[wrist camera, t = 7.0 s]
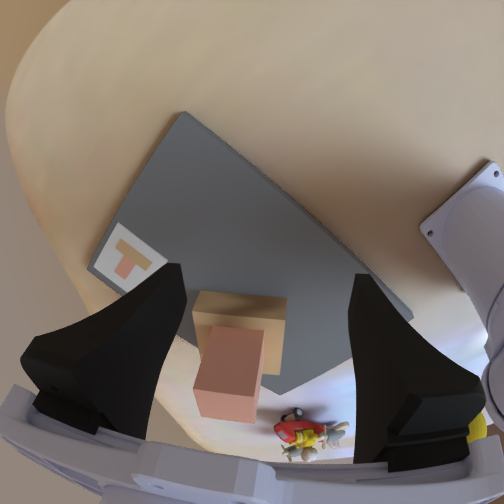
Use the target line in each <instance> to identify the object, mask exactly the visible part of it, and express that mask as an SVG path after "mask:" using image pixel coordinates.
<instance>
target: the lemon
mask: <svg viewBox="0 0 504 504" xmlns="http://www.w3.org/2000/svg"><path fill="white" fill-rule="evenodd" d="M468 426H469V430H470V434H469V435H468V436H466V437H467V442H468V443H470V442H472V441H474V440H477V439H481V438H485V437H486V434H487V426H486V421H485V418H484V416H483V414H482V413H481V412H480V413H479V414H478V415H477V416H476V418H475V419H474V420H473V421H472V422H471V423H470V424H469V425H468Z"/></svg>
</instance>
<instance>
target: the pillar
mask: <svg viewBox="0 0 504 504" xmlns="http://www.w3.org/2000/svg"><path fill="white" fill-rule="evenodd" d="M263 364H264V330H255V329H243V328H233V327H223V326H214V325H213V326H212V329H211V332H210V335H209V338H208V341H207V345H206V348H205V351H204V354H203V357H202V361H201V364H200V367H199V370H198V373H197V377H196V380H195V383H194V386H193V391H194V395H195V398H196V401H197V405H198V408H199V411H200V414H201V416H202V417H208V418H214V419H221V420H228V421H236V422H244V423H253V424H254V423H255V417H256V411H257V404H258V398H259V391H260V384H261V377H262V371H263Z"/></svg>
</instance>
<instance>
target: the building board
mask: <svg viewBox="0 0 504 504" xmlns="http://www.w3.org/2000/svg"><path fill="white" fill-rule="evenodd" d="M166 263H180V264H181V269H182V275H183V280H184V285H185V290H186V295H187V304H186V308H185V312H184V315H183V318H182V321H181V324H180V326H179V328H178V331H177V333H176V334H177V335H179V336H180V337H182V338H183V339H185V340H186V341H188V342H189V343H191V344H193V345H194V346H196V347H197V348H199V347H198V342H197V337H196V331H195V326H194V320H193V314H192V310H193V307H194V305H195V302H196V300H197V297H198V295H199V293H200V290H202V291H212V292H222V293H233V294H244V295H256V296H268V297H281V298H287V307H286V319H285V330H284V340H283V350H282V359H281V369H280V375H270V374H262V377H261V384H260V385H262V386H263V387H265V388H267V389H269V390H271V391H273V392H275V393H276V394H278V395H282V394H284V393H286V392H288V391H290V390H292V389H294V388H296V387H298V386H300V385H302V384H304V383H306V382H308V381H310V380H312V379H314V378H316V377H317V376H319V375H321V374H323V373H325V372H327V371H329V370H330V369H332V368H334V367H336V366H338V365H339V364H341V363H343V362H345V361H346V360H348V359H350V358H352V352H351V345H350V339H349V333H348V307H349V302H350V298H351V293H352V288H353V283H354V278H355V273H358V274H370V275H371V276H372V277H373V279H374V280H375V281H376V283H377V284H378V286H379V287H380V288H381V290H382V291H383V292H384V294H385V295H386V296H387V298H388V299H389V300H390V302H391V303H392V304H393V306H394V307H395V308H396V309H397V311H398V312H399V313H400V314H401V315H402V316H403V318H404V319H405V320H406V321H407V322H409V321H410V320H412V319H413V318H414V316H413V313H412V311H411V310H410V309H409V308H408V307H407V306H406V305H405V304H404V303H403V302H402V301H401V300H400V299H399V298H398V297H397V296H396V295H395V294H394V293H393V292H392V291H391V290H390V289H389V288H388V287H387V286H386V285H385V284H384V283H383V282H382V281H381V280H380V279H379V278H378V277H377V276H376V275H375V274H374V273H373V272H372V271H371V270H370V269H369V268H368V267H367V266H366V265H365V264H364V263H362V262H361V261H360V260H359V259H358V258H357V257H356V256H355V255H354V254H353V253H352V252H351V251H350V250H349V249H348V248H347V247H346V246H345V245H343V244H342V243H341V242H340V241H339V240H338V239H337V238H336V237H335V236H334V235H333V234H332V233H331V232H329V231H328V230H327V229H326V228H325V227H324V226H323V225H322V224H321V223H320V222H318V221H317V220H316V219H315V218H314V217H313V216H312V215H311V214H310V213H308V212H307V211H306V210H305V209H304V208H303V207H302V206H301V205H299V204H298V203H297V202H296V201H295V200H294V199H293V198H291V197H290V196H289V195H288V194H287V193H286V192H284V191H283V190H282V189H281V188H280V187H279V186H277V185H276V184H275V183H274V182H273V181H272V180H270V179H269V178H268V177H267V176H266V175H265V174H263V173H262V172H261V171H260V170H259V169H257V168H256V167H255V166H254V165H253V164H251V163H250V162H249V161H248V160H247V159H245V158H244V157H243V156H242V155H240V154H239V153H238V152H237V151H236V150H234V149H233V148H232V147H231V146H229V145H228V144H227V143H226V142H224V141H223V140H222V139H221V138H219V137H218V136H217V135H216V134H214V133H213V132H212V131H210V130H209V129H208V128H207V127H205V126H204V125H203V124H201V123H200V122H199V121H198V120H196V119H195V118H194V117H192V116H191V115H190V114H188V113H187V112H186V111H185V112H183V113H181V115H180V116H179V117H178V119H177V120H176V121H175V123H174V124H173V126H172V127H171V128H170V130H169V131H168V133H167V134H166V135H165V137H164V138H163V140H162V141H161V143H160V144H159V146H158V147H157V149H156V150H155V152H154V153H153V155H152V156H151V158H150V159H149V161H148V162H147V164H146V165H145V167H144V168H143V170H142V172H141V173H140V175H139V176H138V178H137V179H136V181H135V183H134V184H133V186H132V188H131V189H130V191H129V193H128V194H127V196H126V198H125V199H124V201H123V203H122V204H121V206H120V208H119V209H118V211H117V213H116V215H115V216H114V218H113V220H112V222H111V224H110V225H109V227H108V229H107V231H106V233H105V235H104V236H103V238H102V240H101V242H100V244H99V246H98V248H97V250H96V252H95V253H94V255H93V257H92V259H91V261H90V263H89V265H88V267H87V270H88V271H90V272H91V273H92V274H93V275H95V276H96V277H97V278H99V279H100V280H101V281H102V282H104V283H105V284H106V285H108V286H109V287H110V288H112V289H113V290H114V291H116V292H117V293H118V294H120V295H121V296H124V295H125V294H127V293H128V292H129V291H131V290H132V289H134V288H135V287H136V286H137V285H139V284H140V283H141V282H143V281H144V280H145V279H146V278H148V277H149V276H150V275H152V274H153V273H154V272H155V271H157V270H158V269H159V268H160V267H162V266H163V265H165V264H166Z"/></svg>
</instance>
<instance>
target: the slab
mask: <svg viewBox="0 0 504 504" xmlns="http://www.w3.org/2000/svg"><path fill="white" fill-rule="evenodd" d="M286 307H287V298H281V297H268V296H256V295H244V294H233V293H222V292H212V291H202V290H200V293H199V295H198V297H197V300H196V302H195V305H194V307H193V310H192V314H193V320H194V326H195V331H196V337H197V342H198V347H199V353H200V358H201V361H202V357H203V354H204V351H205V348H206V345H207V341H208V338H209V335H210V332H211V329H212V326H213V325H214V326H223V327H233V328H243V329H255V330H264V364H263V371H262V374H270V375H280V369H281V359H282V350H283V340H284V330H285V319H286Z"/></svg>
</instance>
